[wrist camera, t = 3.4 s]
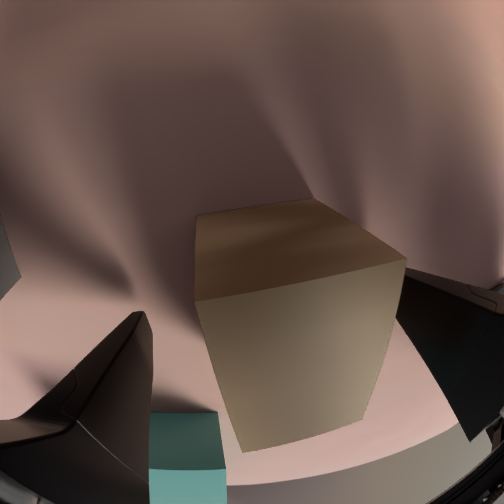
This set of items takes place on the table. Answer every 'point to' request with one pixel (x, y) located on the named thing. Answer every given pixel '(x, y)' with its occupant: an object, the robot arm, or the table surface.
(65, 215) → the table surface
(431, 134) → the table surface
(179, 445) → the teal brick
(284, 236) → the walnut brick
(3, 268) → the charcoal brick
